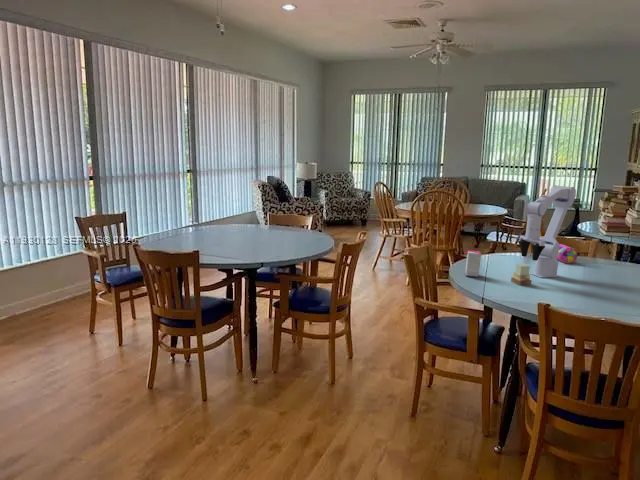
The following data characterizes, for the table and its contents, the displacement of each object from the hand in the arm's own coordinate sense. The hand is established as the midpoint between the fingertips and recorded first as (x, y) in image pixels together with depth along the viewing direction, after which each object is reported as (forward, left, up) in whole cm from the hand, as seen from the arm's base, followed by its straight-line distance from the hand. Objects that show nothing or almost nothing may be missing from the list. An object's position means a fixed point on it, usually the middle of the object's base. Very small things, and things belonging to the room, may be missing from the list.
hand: (529, 258), depth 224 cm
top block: (+6, +4, -6) cm, 9 cm away
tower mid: (+6, +3, -8) cm, 11 cm away
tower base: (+6, +4, -11) cm, 13 cm away
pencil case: (-46, -34, -11) cm, 58 cm away
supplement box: (+22, -11, -11) cm, 27 cm away
